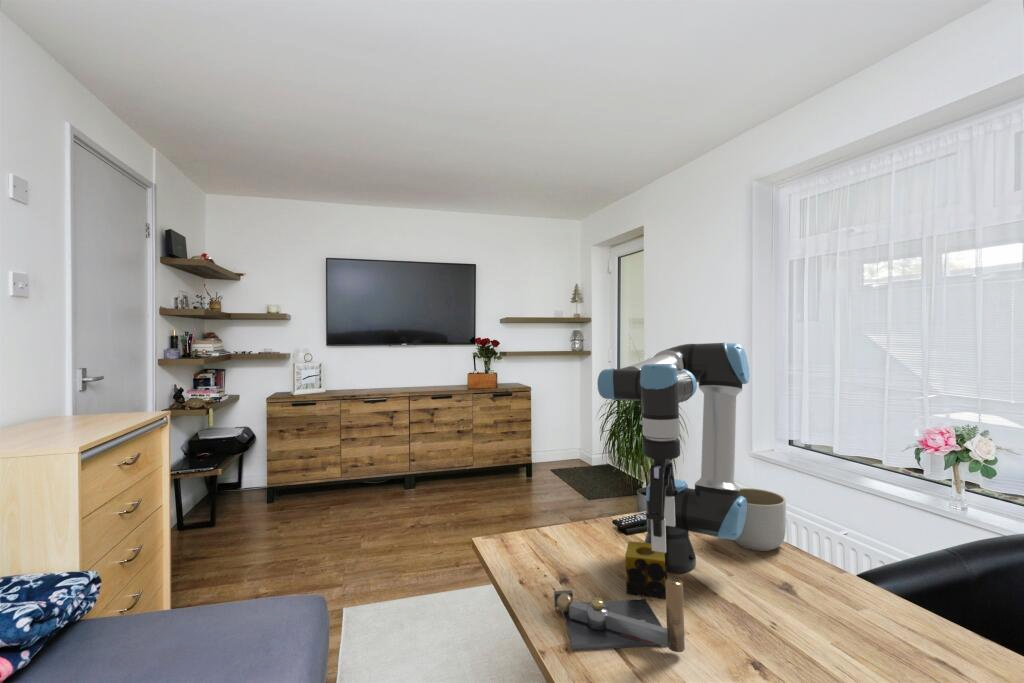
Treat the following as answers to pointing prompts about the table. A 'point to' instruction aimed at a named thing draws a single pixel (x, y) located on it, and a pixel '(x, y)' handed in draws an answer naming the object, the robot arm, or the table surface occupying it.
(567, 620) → the base
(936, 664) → the table surface
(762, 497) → the planter
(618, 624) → the lever
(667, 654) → the table surface
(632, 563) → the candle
